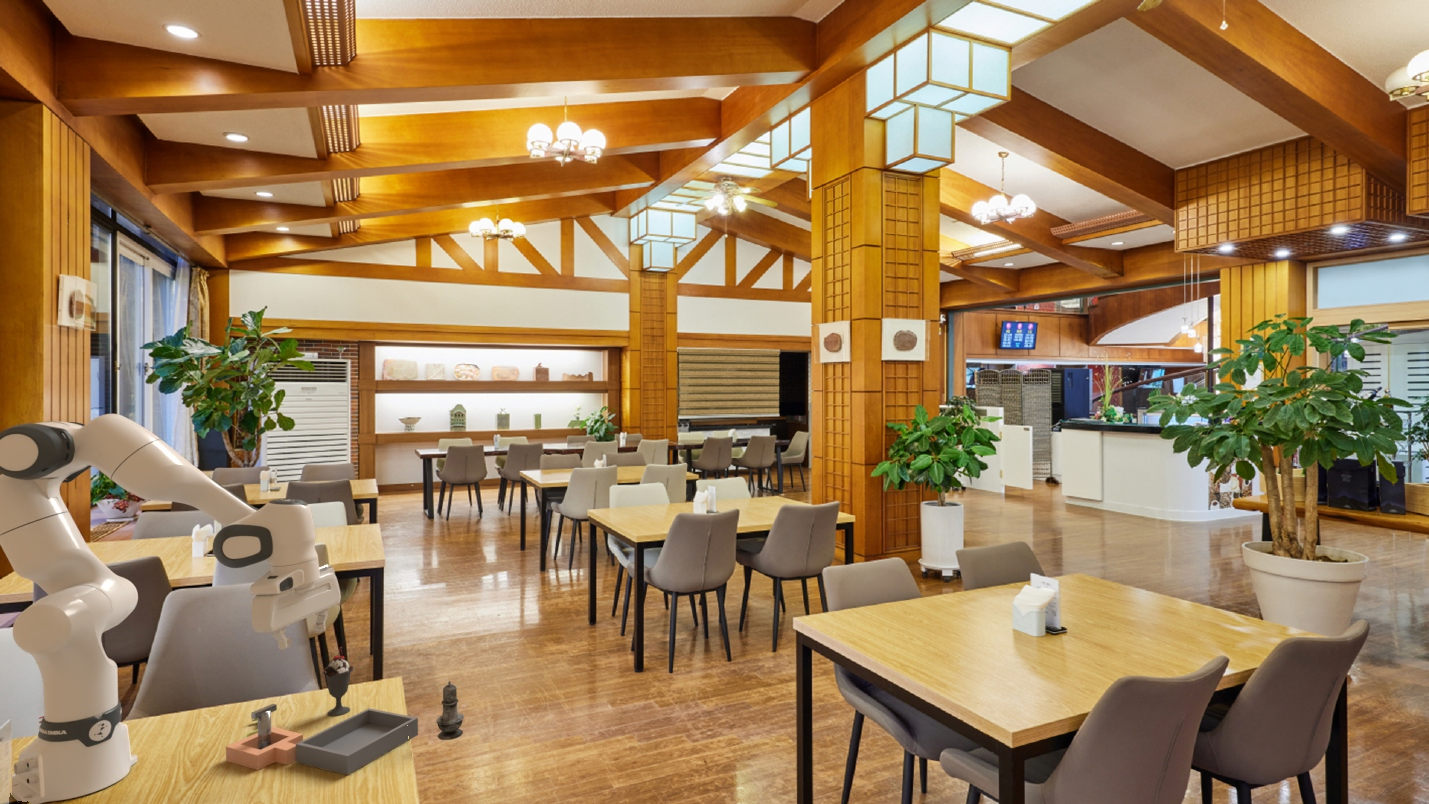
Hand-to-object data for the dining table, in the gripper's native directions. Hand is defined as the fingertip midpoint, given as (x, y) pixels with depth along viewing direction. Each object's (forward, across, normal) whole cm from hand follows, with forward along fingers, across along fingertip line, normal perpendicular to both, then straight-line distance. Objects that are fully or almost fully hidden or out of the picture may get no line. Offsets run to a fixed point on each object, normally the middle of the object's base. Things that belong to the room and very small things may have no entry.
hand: (303, 639), depth 154 cm
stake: (+24, +2, -11) cm, 26 cm away
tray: (+25, -4, +7) cm, 27 cm away
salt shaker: (+27, -14, +23) cm, 38 cm away
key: (+24, -6, -20) cm, 32 cm away
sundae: (+25, -19, -11) cm, 33 cm away
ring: (+24, +3, -9) cm, 25 cm away
